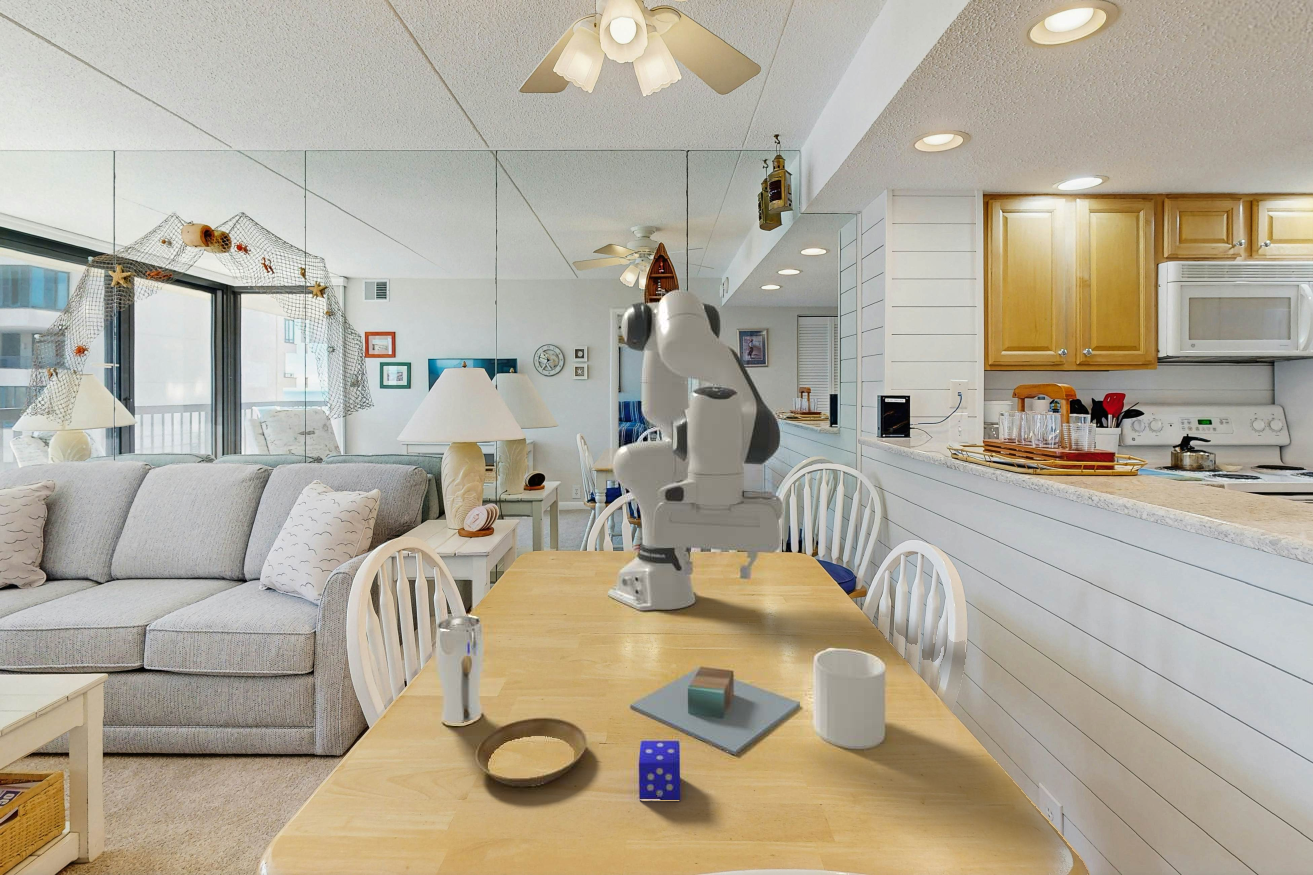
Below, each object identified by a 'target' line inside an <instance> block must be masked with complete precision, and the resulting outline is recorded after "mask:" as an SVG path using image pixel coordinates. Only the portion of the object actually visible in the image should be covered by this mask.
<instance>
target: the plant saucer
mask: <svg viewBox="0 0 1313 875" xmlns="http://www.w3.org/2000/svg"><path fill="white" fill-rule="evenodd" d="M531 736H545V737H546V736H547V737H552V738H557V739H560V740H563V741H565V742H566V743H568V744H569V746H570V747H571V748H573V750H574V760H573V762H571V763H570V764H569V765H567V766H565V767H563V768H562V769H559V770H557V771H555V772H552V773H549V774H546V775H542V776H537V777H530V778H507V777H502V776H498V775H495V774H492V773H490V771H489V769H488V762H489V759H490V758H491V755H492V754H493V753H494V751H495V750H496V749H498V748H499V747H500V746H501V745H503V744H504V743H506V742H508V741H512V740H515V739H520V738H523V737H531ZM587 739H588V738H587V735H586V733H585V732H584V731H583V729H582V728H581V727H579V726H578V725H577V724H575V723H574V722H571V721H568V720H565V719H562V718H555V717H532V718H525V719H521V720H516V721H513V722H511V723H508V724H505V725H503V726H501V727H498V728H497V729H495V730H493V731H491V732H490V733H489V734H487V735H486V736H485V737H484V738H483V739H482V740H481V741H480V743H478V746H477V748H476V751H475V762H476V764H477V765H478V766H479V768H480V769H481V770H482V771H483V772H484V773H485V774H487V775H488V776H489V777H490V778H492V779H493V780H495V781H496V782H499V783H501V784H503V783H504V784H503V785H506V784H508V785H507V786H509V785H513V786H512V787H514V786H532V785H538V784H542V783H545V784H547V783H546V782H548V783H550V782H549V781H551V780H553V781H555V780H557V779H558V777H559V778H560V777H562V776H563V775H564V774H566V772H568V771H569V770H570V769H572V767H574V765H575V764H576V763H577V762H578V761H579V760H580V758H581V757H582V755H583V754H584V752H585V750H586V749H587V748H586V747H587V743H588V740H587ZM561 775H562V776H561ZM556 778H557V779H556ZM554 779H555V780H554ZM551 782H552V781H551ZM542 785H543V784H542ZM538 786H539V785H538ZM532 787H533V786H532Z"/></svg>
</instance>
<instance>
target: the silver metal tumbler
mask: <svg viewBox="0 0 1313 875" xmlns="http://www.w3.org/2000/svg"><path fill="white" fill-rule="evenodd" d="M435 633H436V635H435V636H436V637H435V659H436V660H435V661H436V666H437V672H438V675H439V681H440V685H441V691H442V699H443V700H442V701H443V703H442V704H443V705H442V712H441V716H442V719H443V720H444V721H446V722H450V723H464V722H468V721H470V720H473V719H475V718H477V717H478V716H479V715H480V714H481V713H482V714H483V708H482V704H481V700H480V699H481V698H480V682H481V676H482V670H483V669H482V668H483V661H484V640H483V639H484V637H483V628H482V620H481V618H480V617H477V616H476V615H475V616H474V615H456V616H455V615H454V616H452V617H447V618H444V619H442V620H440V621H439V622H438V623H437V624H436V632H435Z"/></svg>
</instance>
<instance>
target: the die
mask: <svg viewBox="0 0 1313 875" xmlns="http://www.w3.org/2000/svg"><path fill="white" fill-rule="evenodd" d="M680 744H681V743H680V741H679V740H641V741H640V744H639V746H640V747H639V758H638V790H639V791H638V792H639V794H638V798H639V799H660V800H680V801H681V761H680V760H681V754H680V753H681V752H680V749H681V748H680V746H681V745H680Z"/></svg>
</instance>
